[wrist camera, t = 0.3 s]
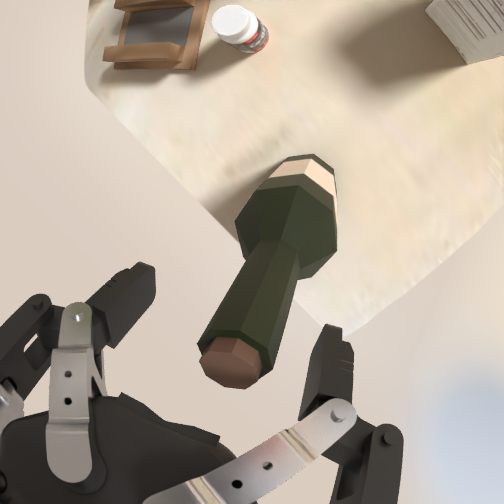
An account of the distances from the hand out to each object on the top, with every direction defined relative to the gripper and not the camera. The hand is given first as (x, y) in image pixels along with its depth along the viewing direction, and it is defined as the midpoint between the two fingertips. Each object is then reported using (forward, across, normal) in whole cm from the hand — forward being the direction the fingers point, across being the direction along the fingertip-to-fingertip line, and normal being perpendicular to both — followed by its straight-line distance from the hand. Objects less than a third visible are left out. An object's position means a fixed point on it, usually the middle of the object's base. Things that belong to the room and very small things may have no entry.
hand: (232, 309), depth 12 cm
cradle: (+28, +24, -18) cm, 41 cm away
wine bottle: (+28, -1, +2) cm, 28 cm away
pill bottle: (+28, +10, -16) cm, 34 cm away
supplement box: (+28, -17, -28) cm, 43 cm away
